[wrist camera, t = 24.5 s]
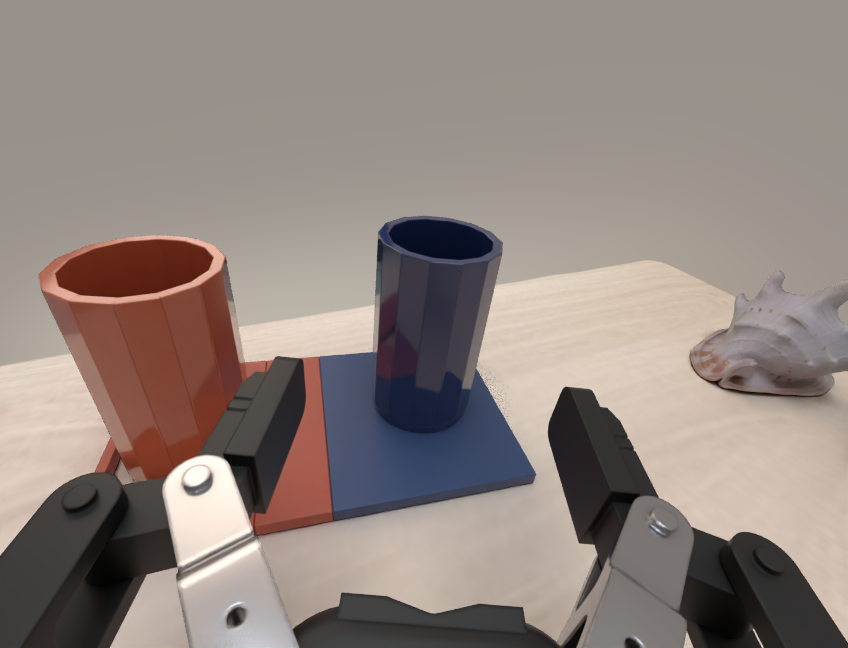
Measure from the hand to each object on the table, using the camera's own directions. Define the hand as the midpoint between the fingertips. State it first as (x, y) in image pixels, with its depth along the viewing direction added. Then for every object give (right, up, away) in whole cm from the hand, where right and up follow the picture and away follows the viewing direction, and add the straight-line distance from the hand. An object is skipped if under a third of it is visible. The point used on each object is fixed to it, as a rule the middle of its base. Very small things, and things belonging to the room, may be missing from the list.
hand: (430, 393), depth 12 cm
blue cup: (0, -3, +14) cm, 14 cm away
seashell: (+28, -2, +22) cm, 36 cm away
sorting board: (-6, -4, +12) cm, 14 cm away
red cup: (-13, -5, +10) cm, 17 cm away
